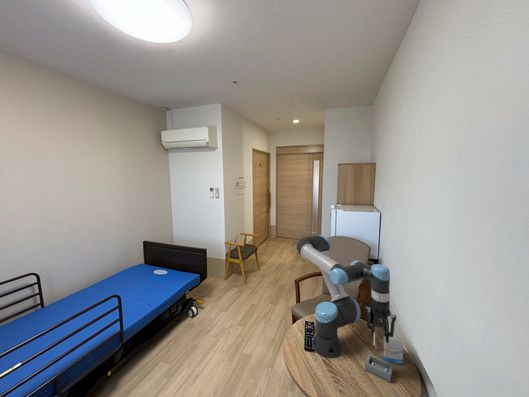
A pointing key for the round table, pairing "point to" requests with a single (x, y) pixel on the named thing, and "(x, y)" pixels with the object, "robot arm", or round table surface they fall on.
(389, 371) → the grey tray with pegs
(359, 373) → the round table surface
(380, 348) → the wooden beam
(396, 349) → the ink box
